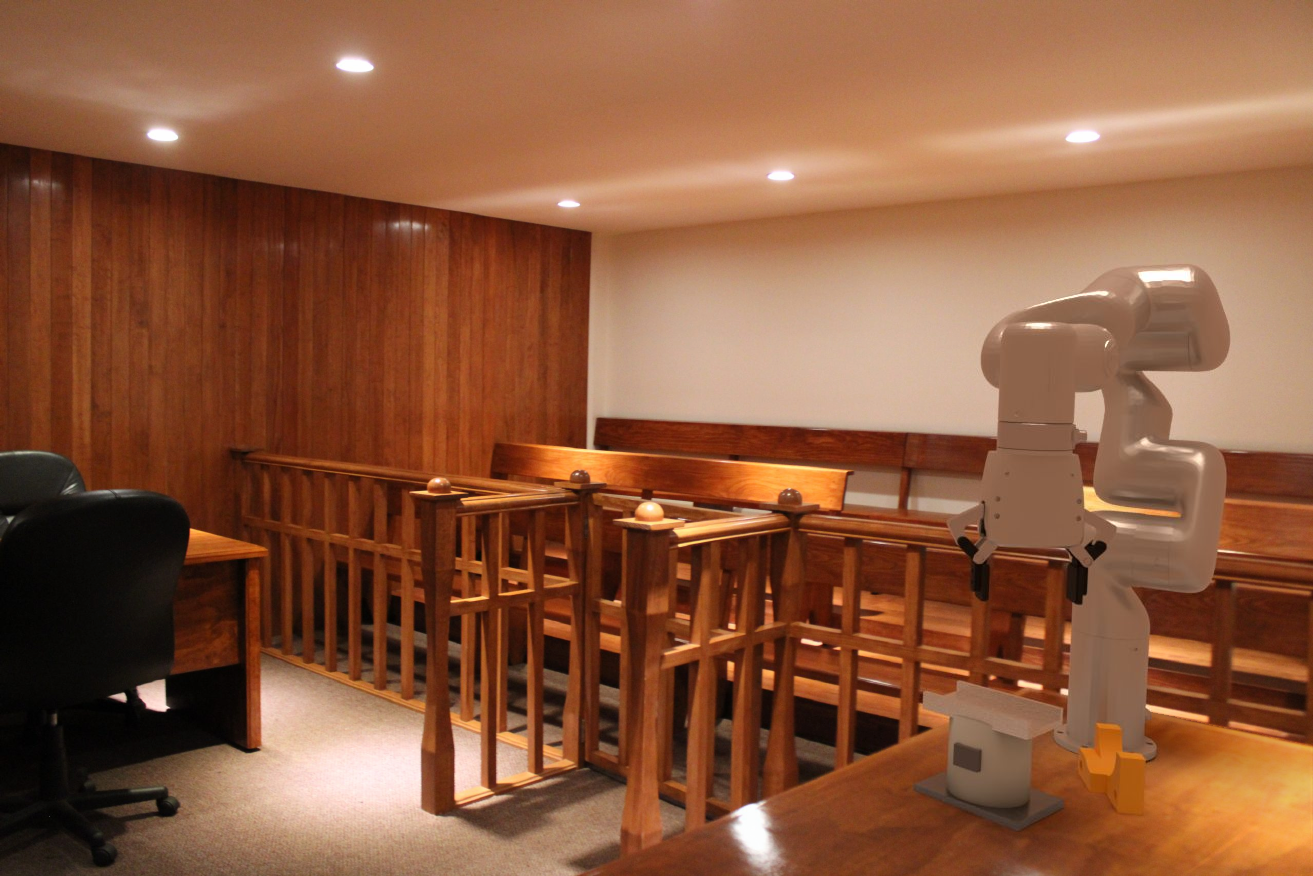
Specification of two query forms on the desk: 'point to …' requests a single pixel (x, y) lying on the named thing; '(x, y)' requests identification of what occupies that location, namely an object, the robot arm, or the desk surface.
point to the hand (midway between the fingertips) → (1027, 600)
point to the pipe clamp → (1113, 770)
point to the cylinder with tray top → (992, 754)
